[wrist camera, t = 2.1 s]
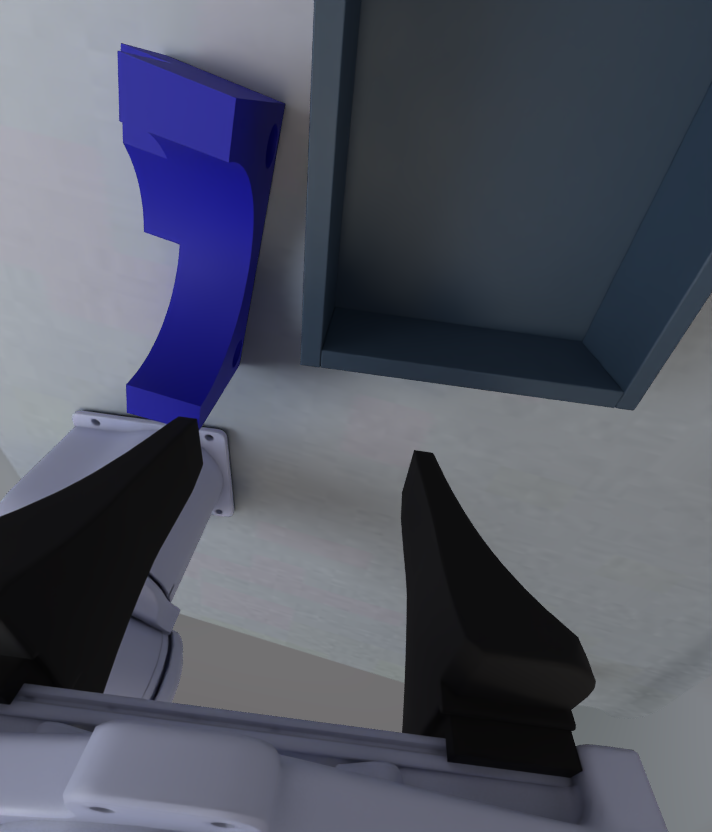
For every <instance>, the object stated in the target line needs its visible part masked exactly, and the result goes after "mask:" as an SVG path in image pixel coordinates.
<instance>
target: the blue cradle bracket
mask: <svg viewBox="0 0 712 832" xmlns="http://www.w3.org/2000/svg"><path fill="white" fill-rule="evenodd" d="M118 84H119V121H120V122H123V143H124V145H125V147H126V149H127V151H128V153H129V156H130V158H131V161H132V163H133V166H134V169H135V172H136V175H137V179H138V183H139V187H140V192H141V198H142V205H143V216H144V232H146V233H149V234H152V235H154V236H157V237H160V238H163V239H166V240H169V241H172V242H175V243H178V244H180V249H179V259H178V267H177V274H176V279H175V284H174V289H173V293H172V297H171V301H170V304H169V308H168V311H167V314H166V317H165V320H164V322H163V325H162V328H161V330H160V332H159V335H158V337H157V339H156V341H155V343H154V345H153V347H152V349H151V351H150V353H149V355H148V356H147V358H146V359H145V361H144V363H143V364H142V366H141V367H140V369H139V370H138V371H137V373H136V374H135V375H134V376H133V378H132V379H131V380H130V381H129V382H128V383H127V384H126V396H127V413H130V414H133V415H137V416H140V417H144V418H147V419H151V420H154V421H158V422H161V423H165V424H168V423H169V422H171V421H172V420H174V419H175V418H177V417H178V416H181V417H188V418H195V419H197V421H198V428H199V430H200V428H201V427H202V425H203V423H204V422H205V420H206V419H207V417H208V415H209V414H210V412H211V410H212V409H213V407H214V406H215V404H216V402H217V401H218V399H219V397H220V396H221V394H222V393H223V391H224V389H225V388H226V386H227V384H228V383H229V381H230V380H231V378H232V376H233V375H234V373H235V371H236V370H237V368H238V367H239V365H240V360H241V354H242V348H243V343H244V337H245V331H246V326H247V320H248V314H249V308H250V303H251V297H252V291H253V285H254V280H255V274H256V268H257V263H258V257H259V251H260V245H261V240H262V234H263V228H264V222H265V217H266V211H267V205H268V200H269V194H270V188H271V182H272V177H273V171H274V165H275V159H276V154H277V148H278V142H279V136H280V131H281V125H282V119H283V114H284V108H285V103H282V102H280V101H277V100H275V99H272V98H270V97H267V96H265V95H263V94H260V93H258V92H255V91H253V90H250V89H248V88H245V87H243V86H240V85H238V84H235V83H233V82H230V81H228V80H226V79H223V78H221V77H218V76H216V75H213V74H211V73H208V72H206V71H203V70H201V69H198V68H196V67H193V66H191V65H189V64H186V63H184V62H181V61H179V60H176V59H174V58H171V57H169V56H166V55H163V54H159V53H156V52H152V51H148V50H145V49H141V48H137V47H133V46H130V45H126V44H122V43H121V51H118Z"/></svg>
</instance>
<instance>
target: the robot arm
mask: <svg viewBox="0 0 712 832" xmlns="http://www.w3.org/2000/svg"><path fill="white" fill-rule="evenodd" d="M72 420H73V423H74V425H75V427H74V428H73V429H72V430H71V431H70V432H69V433H68V434H67V435H66V436H65V437H64V438H63V439H62V440H61V441H60V442H59V443H58V444H57V445H56V446H55V447H54V448H53V449H52V450H50V451H49V452H48V453H47V454H46V455H45V456H44V457H43V458H42V459H41V460H40V461H39V462H38V463H37V464H36V465H35V466H34V467H33V468H32V469H31V470H30V471H29V472H28V473H27V474H26V475H25V476H24V477H23V478H22V479H21V480H20V481H19V482H18V483H17V484H16V485H15V486H14V487H13V488H12V489H11V490H10V491H9V492H8V493H7V494H6V495H5V496H4V498H3V499H2V501H1V502H0V832H668V830H667V827H666V825H665V822H664V819H663V817H662V814H661V812H660V809H659V807H658V804H657V802H656V799H655V796H654V794H653V791H652V788H651V786H650V783H649V781H648V778H647V775H646V773H645V770H644V768H643V765H642V762H641V760H640V757H639V755H638V753H637V752H635V751H634V750H630V749H623V748H615V747H608V746H600V745H589V744H585V745H578V746H575V743H574V739H573V736H572V732H571V731H574V730H575V728H576V724H575V721H574V717H573V714H572V711H571V710H572V709H573V708H574V707H575V706H577V705H578V704H579V703H580V702H582V701H583V700H584V699H585V698H587V697H588V696H589V695H590V693H591V692H592V691H593V690H594V688H595V682H596V681H595V678H594V675H593V673H592V670H591V667H590V664H589V661H588V659H587V656H586V654H585V652H584V649H583V647H582V645H581V643H580V641H579V638H578V637H577V636H576V635H575V634H574V633H573V632H572V631H570V630H569V629H568V628H567V627H566V626H565V625H563V624H562V623H561V622H560V621H559V620H558V619H557V618H555V617H554V616H553V615H552V614H551V613H550V612H549V611H547V610H546V609H545V608H544V607H543V606H542V605H541V604H540V603H539V602H538V601H537V600H536V599H535V598H534V597H533V596H532V595H531V594H530V593H529V592H528V591H527V590H526V589H525V588H524V587H523V586H522V585H521V584H520V583H519V582H518V581H517V580H516V579H515V577H514V576H513V575H512V574H511V573H510V572H509V571H508V570H507V569H506V568H505V566H504V565H503V564H502V563H501V562H500V561H499V559H498V558H497V557H496V556H495V555H494V553H493V552H492V551H491V549H490V548H489V547H488V546H487V544H486V543H485V542H484V540H483V539H482V537H481V536H480V535H479V533H478V532H477V530H476V529H475V528H474V526H473V524H472V523H471V521H470V520H469V518H468V517H467V515H466V514H465V512H464V510H463V509H462V507H461V506H460V504H459V502H458V500H457V499H456V497H455V495H454V493H453V492H452V490H451V488H450V486H449V484H448V482H447V480H446V478H445V476H444V474H443V472H442V470H441V468H440V466H439V464H438V462H437V460H436V458H435V456H434V454H433V453H430V452H423V451H416V450H414V453H413V456H412V460H411V463H410V467H409V470H408V474H407V477H406V481H405V484H404V488H403V491H402V507H401V525H402V538H403V550H404V561H405V573H406V587H407V625H406V662H405V688H404V689H405V690H404V691H405V692H404V708H403V728H402V733H399V732H391V731H383V730H376V729H369V728H360V727H353V726H346V725H337V724H330V723H323V722H314V721H308V720H300V719H293V718H285V717H277V716H269V715H262V714H254V713H246V712H238V711H232V710H224V709H216V708H209V707H201V706H193V705H186V704H178V703H172V700H173V698H174V696H175V693H176V690H177V687H178V684H179V681H180V677H181V672H182V666H183V654H182V653H183V643H182V639H181V636H180V635H179V633H178V632H176V631H174V630H172V629H173V626H174V624H175V622H176V619H177V617H178V615H179V612H180V609H179V608H178V607H176V606H174V605H173V604H172V603H171V601H172V599H173V597H174V595H175V592H176V590H177V588H178V586H179V584H180V581H181V579H182V577H183V575H184V573H185V571H186V568H187V566H188V564H189V562H190V560H191V557H192V555H193V553H194V551H195V549H196V546H197V544H198V542H199V540H200V538H201V535H202V533H203V531H204V529H205V527H206V524H207V522H208V520H209V518H210V516H211V515H217V516H224V517H230V516H232V515H233V513H234V501H233V491H232V481H231V470H230V460H229V450H228V440H227V435H226V433H225V432H224V431H222V430H219V429H213V428H206V427H201V428H200V430H199V428H198V421H197V419H195V418H188V417H181V416H178V417H177V418H175V419H174V420H172V421H171V422H169V423H168V424H165V423H161V422H158V421H154V420H147V419H140V418H132V417H125V416H118V415H110V414H103V413H96V412H88V411H81V410H80V411H76V412H75V413H74V414H73V415H72ZM97 420H98V421H97ZM209 435H211V436H212V437H210V436H209Z"/></svg>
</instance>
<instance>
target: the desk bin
mask: <svg viewBox="0 0 712 832" xmlns="http://www.w3.org/2000/svg"><path fill="white" fill-rule="evenodd" d="M711 293H712V0H314V19H313V45H312V71H311V98H310V124H309V151H308V177H307V203H306V230H305V256H304V283H303V309H302V336H301V362H300V364H301V365H306V366H313V367H320V366H321V367H322V368H329V369H336V370H344V371H351V372H358V373H365V374H373V375H380V376H387V377H394V378H401V379H409V380H416V381H423V382H430V383H438V384H445V385H452V386H459V387H467V388H474V389H481V390H488V391H496V392H503V393H510V394H517V395H524V396H532V397H539V398H546V399H553V400H561V401H568V402H575V403H582V404H590V405H597V406H604V407H611V408H614V407H615V408H619V409H626V410H634V409H635V408H636V407H637V405H638V404H639V402H640V400H641V399H642V397H643V396H644V394H645V393H646V391H647V390H648V388H649V387H650V385H651V384H652V382H653V381H654V379H655V378H656V376H657V375H658V373H659V372H660V370H661V369H662V367H663V366H664V364H665V362H666V361H667V359H668V358H669V356H670V355H671V353H672V352H673V350H674V349H675V347H676V346H677V344H678V343H679V341H680V340H681V338H682V337H683V335H684V334H685V332H686V331H687V329H688V328H689V326H690V324H691V323H692V321H693V320H694V318H695V317H696V315H697V314H698V312H699V311H700V309H701V308H702V306H703V305H704V303H705V302H706V300H707V299H708V297H709V296H710V294H711Z"/></svg>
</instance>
